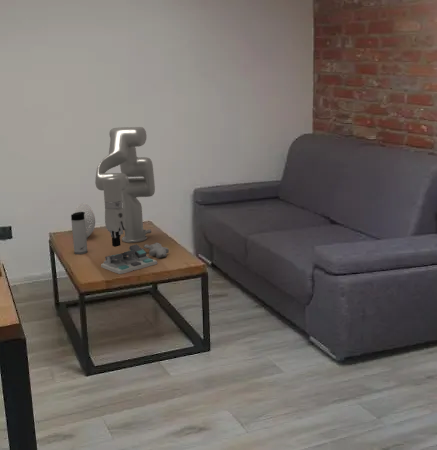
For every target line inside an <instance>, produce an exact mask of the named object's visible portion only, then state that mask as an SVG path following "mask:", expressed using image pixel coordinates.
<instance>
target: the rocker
mask: <svg viewBox="0 0 437 450" xmlns="http://www.w3.org/2000/svg"><path fill="white" fill-rule="evenodd" d="M107 257H109V258H111V260H114V259H119V258H122V254H121V253H117V254H110V255H108V256H105V257H104V260H105V261H106V260H107Z"/></svg>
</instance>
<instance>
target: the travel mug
mask: <svg viewBox="0 0 437 450" xmlns="http://www.w3.org/2000/svg"><path fill="white" fill-rule="evenodd" d="M84 214H85V211H84V212H77V213H75V212H73V213H72V214H71V215H70V218H71V219H70V222H71V231H72V239H73V240H72V242H73V243H72V244H73V251H74V254H75V255H85V254H87V253H88V241H87V240H88V239H87V238H86V232H87V231H86V228H85V218H84Z"/></svg>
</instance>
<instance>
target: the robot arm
mask: <svg viewBox="0 0 437 450" xmlns="http://www.w3.org/2000/svg"><path fill="white" fill-rule="evenodd" d="M108 135H109V137H110V140H109V149H108V154H107V155H106V156H105V157H104V158H103V159H102V160H101V161H100V162H99V163H98V165H97V168H96V173H95V181H94V183H95V184H94V185H95V186H96V188H97V190H99V191H103V198H104V199H103V200H104V224H105V229H107V232H109V233H110V237H111V244H112V247H115V248H117V247H120V246H121V244H122V243H121V240H122V242H124V243H140V242H144V241H146V240H147V239H148V237H147V234H151V233H152V229H146V228H145V229H144V220H143V206H142V203H141V202H140V200H139V199H138V198H151V197H153V196H154V194H155V192H156V191H155V190H156V186H155V174H154V165H153V161H152V160H151V159H150V158H149V157H145V156H144V157H138V156H137V147H143V146H144V145H145V143H146V141H147V131H146V129H145V128H144V127H142V126H132V127H128V126H127V127H125V126H124V127H120V126H119V127H114V128H111V129H110V130H109V134H108ZM118 166H119V167H120V172H108V171H109V170H111V169H113V168H116V167H118ZM122 235H124V236H123V237H122ZM121 237H122V238H121Z"/></svg>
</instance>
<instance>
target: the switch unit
mask: <svg viewBox="0 0 437 450" xmlns="http://www.w3.org/2000/svg"><path fill="white" fill-rule="evenodd" d="M142 249H143V250H144V251H145V248H142ZM106 257H107V256H106ZM155 265H158V261H157V260H156V259H152V258H150V256H148V255H146V256H144V257H140V258H139V257H137V256H136V255H135V251H134V254H131V255H128V256H124V257H123V255H122V258H119V259H114V260H111V258H109V257H107V260H106V259H105V260H103V263H101V264H100V268H103V269H105V270H107V271H110V272H113V273H115V274H118V275H122V274H126V273H129V272H133V270H134V271H137V270H140V269H144V268H148V267H151V266H155Z"/></svg>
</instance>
